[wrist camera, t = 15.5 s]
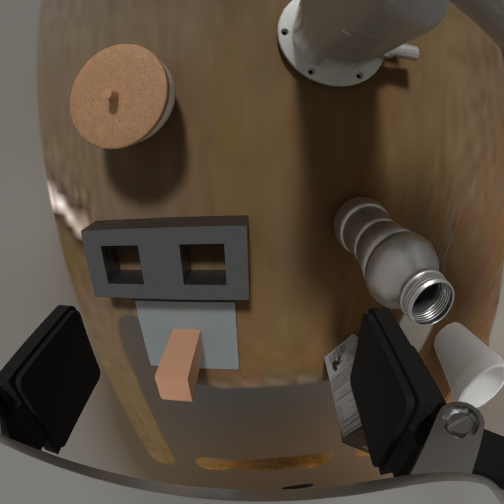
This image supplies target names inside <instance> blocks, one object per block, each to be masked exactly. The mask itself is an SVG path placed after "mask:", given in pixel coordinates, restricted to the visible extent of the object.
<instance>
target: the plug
mask: <svg viewBox="0 0 504 504" xmlns="http://www.w3.org/2000/svg"><path fill="white" fill-rule="evenodd" d="M203 352H204V351H203V344H202V337H201V330H191V329H173V330H172V333H171V335H170V338H169V340H168V343H167V346H166V348H165V351H164V353H163V356H162V359H161V361H160V364H159V367H158V369H157V372H156V375H155V380H156V383H157V386H158V389H159V393H160V396H161V399H168V400H179V401H193V396H194V391H195V387H196V383H197V378H198V374H199V369H200V365H201V361H202V356H203Z"/></svg>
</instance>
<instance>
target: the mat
mask: <svg viewBox="0 0 504 504" xmlns="http://www.w3.org/2000/svg"><path fill="white" fill-rule="evenodd" d="M135 303H136V308H137V312H138V317H139V321H140V325H141V329H142V333H143V337H144V341H145V345H146V349H147V353H148V356H149V360H150V364H151V365H155V366H159V364H160V361H161V359H162V356H163V353H164V351H165V348H166V346H167V343H168V340H169V338H170V335H171V333H172V330H173V329H191V330H201V337H202V344H203V351H204V352H203V356H202V361H201V365H200V368H203V369H239V358H238V341H237V324H236V307H235V301H183V300H143V299H136V300H135Z"/></svg>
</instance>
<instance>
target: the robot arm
mask: <svg viewBox="0 0 504 504" xmlns="http://www.w3.org/2000/svg"><path fill="white" fill-rule="evenodd" d="M449 2H451V3H452V4H454V5H455V6H456V7H457V8H458V9H459V10H460V11H462V12H463V13H464V14H465V15H467V16H469V17H470V18H471V19H472V20H473V21H474V22H475V23H476V24H477V25H479V26H480V27H481V28H482V29H483V30H484V31H485V32H486V33H487V34H488V35H489V36H490V38H491V39H492V40H493V41H494V42H495V43H496V44H497V45H498V46H499V47H500V48H501V49H502V50H503V51H504V0H292V1H291V2H290V3H289V4H288V5H287V6H286V7H285V9H284V10H283V11H282V13H281V16H280V18H279V21H278V26H277V38H278V43H279V46H280V49H281V51H282V53H283V55H284V57H285V58H286V60H287V61H288V63H289V64H290V65H291V66H292V67H293V68H294V69H295V70H296V71H297V72H299V73H300V74H301V75H303V76H304V77H306V78H308V79H310V80H312V81H313V82H316V83H319V84H322V85H326V86H332V87H347V86H352V85H356V84H358V83H361V82H363V81H365V80H367V79H369V78H370V77H371V76H372V75H373V74H375V73H376V72H377V70H378V69H379V68H380V66H381V64H382V62H383V60H384V58H392V57H393V56H397V57H401V58H402V59H407V60H412V61H417V59H418V57H419V50H418V47H417V46H413V45H409V44H406V43H408V42H410V41H412V40H414V39H416V38H418V37H420V36H422V35H424V34H426V33H428V32H429V31H431V30H432V29H434V28H435V27H436V26H437V25H438V24H439V23H440V22H441V20H442V19H443V17H444V15H445V13H446V11H447V9H448V6H449ZM283 32H285V33H286V35H283V34H282V33H283ZM308 71H312V74H309V73H308ZM356 75H359V78H357V77H356ZM99 378H100V369H99V366H98V364H97V361H96V358H95V356H94V353H93V350H92V348H91V345H90V342H89V339H88V336H87V334H86V330H85V327H84V324H83V321H82V318H81V315H80V313H79V312H78V311H76V309H75V307H73V306H64V305H59V306H57V307H56V308H55V309H54V310H53V312H52V313H51V314H50V315H49V316H48V317H47V318H46V319H45V320H44V321H43V322H42V323H41V325H40V326H39V327H38V328H37V329H36V330H35V331H34V332H33V334H32V335H31V336H30V337H29V338H28V339H27V340H26V342H25V343H24V344H23V345H22V346H21V347H20V348H19V350H18V351H17V352H16V353H15V354H14V355H13V357H12V358H11V359H10V360H9V362H8V363H7V364H6V365H5V366H4V368H3V369H2V370H1V371H0V504H504V436H501V435H498V434H496V433H493V432H490V431H488V430H485V429H484V419H483V416H482V415H481V413H480V411H479V410H478V409H477V408H475V407H474V406H473V405H471V404H468V403H466V402H460V401H457V402H451V403H448V404H447V403H446V402H445V400H444V398H443V396H442V394H441V392H440V390H439V389H438V387H437V385H436V383H435V381H434V380H433V378H432V376H431V374H430V373H429V371H428V369H427V367H426V366H425V364H424V362H423V360H422V359H421V357H420V355H419V354H418V352H417V350H416V349H415V348H414V346H411V344H410V343H409V341H408V339H407V338H406V336H405V334H404V333H403V331H402V329H401V328H400V326H399V324H398V323H397V321H396V320H395V318H394V316H393V315H392V313H391V311H390V310H389V309H388V308H386V307H385V308H371V309H369V311H368V313H365V314H364V315H363V318H362V323H361V328H360V333H359V338H358V343H357V348H356V353H355V357H354V362H353V366H352V371H351V375H350V385H351V389H352V392H353V396H354V399H355V402H356V406H357V409H358V413H359V416H360V420H361V423H362V427H363V431H364V434H365V438H366V442H367V445H368V449H369V453H370V457H371V460H372V464H373V466H374V467H379V471H380V475H382V474H388V473H393V476H394V477H393V478H387V479H381V480H374V481H368V482H362V483H355V484H347V485H339V486H331V487H318V488H306V489H289V490H231V489H215V488H202V487H192V486H183V485H176V484H168V483H162V482H155V481H150V480H144V479H139V478H134V477H129V476H124V475H120V474H116V473H111V472H108V471H104V470H100V469H96V468H92V467H89V466H85V465H82V464H79V463H75V462H72V461H69V460H66V459H63V458H60V457H57V456H54V455H51V454H48V453H46V452H43V451H41V449H42V447H44V448H45V449H46V450H48V451H51V452H54V453H56V454H58V453H59V451H60V449H61V447H64V446H65V444H66V442H67V440H68V438H69V436H70V434H71V432H72V430H73V428H74V426H75V424H76V422H77V420H78V418H79V416H80V414H81V412H82V410H83V408H84V406H85V405H86V402H87V401H88V399H89V397H90V395H91V393H92V391H93V389H94V387H95V386H96V384H97V382H98V380H99Z"/></svg>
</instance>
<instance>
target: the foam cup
mask: <svg viewBox="0 0 504 504" xmlns="http://www.w3.org/2000/svg"><path fill="white" fill-rule="evenodd" d="M433 345H434V349H435V352H436V354H437V357H438V359H439V361H440V364H441V366H442V369H443V371H444V374H445V376H446V379H447V381H448V384H449V387H450V389H451V392H452V398H453V400H454V402H457V401H460V402H466V403H468V404H471V405H473V406H474V407H475V408H478V407H480V406H481V405H483V404H485V403H486V402H487V401H489V400H490V399H491V398H492V397H494V396H495V394H496V393H497V392H498V391H499V390H500V389H501V387H502V386H503V384H504V361H503V359H502V358H501V357H500V356H499V355H498V354H497V353H494V352H493V351H492V350H491V349H490V348H489V347H488V346H486V345H485V344H484V343H483V342H482V341H481V340H480V339H478V338H477V337H476V336H475V335H474V334H473V333H471V332H470V331H469V330H468V329H467V328H465V327H464V326H463V325H462V324H460V323H458V322H453V323H450V324H448V325H446V326H445V327H444V328H442V329H441V330H440V331H439V333H438V334H437V335H436V337H435V340H434V343H433Z"/></svg>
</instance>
